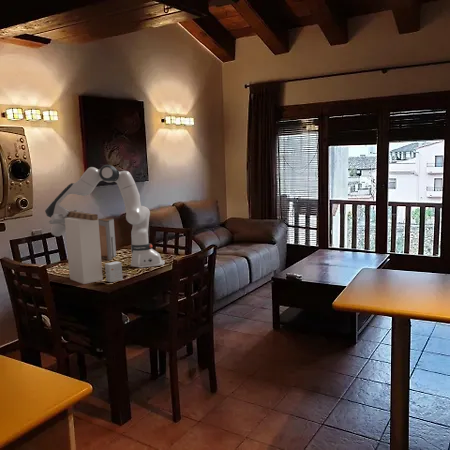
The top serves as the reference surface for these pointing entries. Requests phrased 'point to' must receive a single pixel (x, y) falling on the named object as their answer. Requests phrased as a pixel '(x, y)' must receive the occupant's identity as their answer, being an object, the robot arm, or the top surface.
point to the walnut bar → (83, 215)
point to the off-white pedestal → (83, 250)
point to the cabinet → (107, 238)
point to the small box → (113, 271)
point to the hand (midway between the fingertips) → (72, 211)
